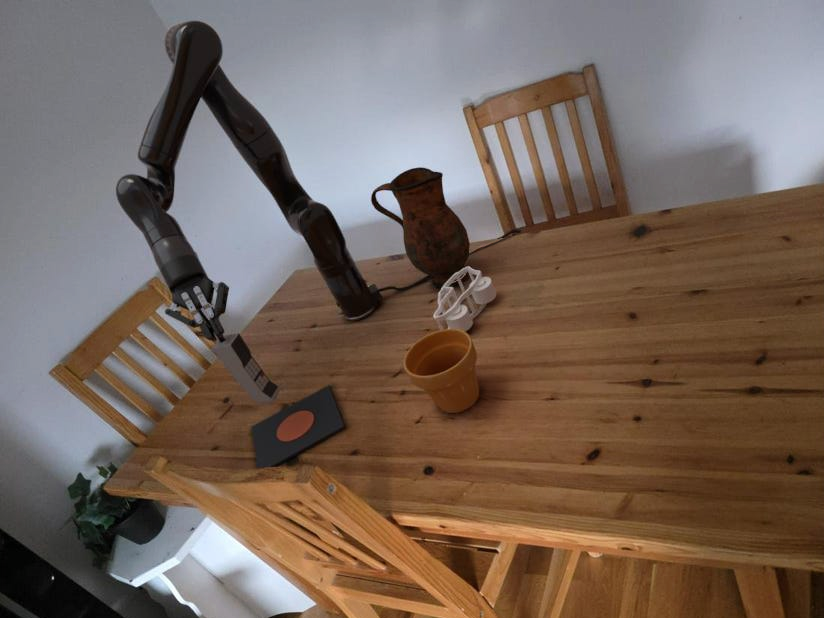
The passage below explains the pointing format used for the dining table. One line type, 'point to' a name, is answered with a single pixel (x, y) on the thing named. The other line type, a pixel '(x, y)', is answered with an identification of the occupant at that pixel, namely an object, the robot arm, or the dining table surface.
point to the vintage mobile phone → (244, 367)
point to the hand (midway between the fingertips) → (217, 338)
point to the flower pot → (445, 369)
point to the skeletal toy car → (459, 313)
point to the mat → (297, 428)
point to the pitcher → (428, 225)
